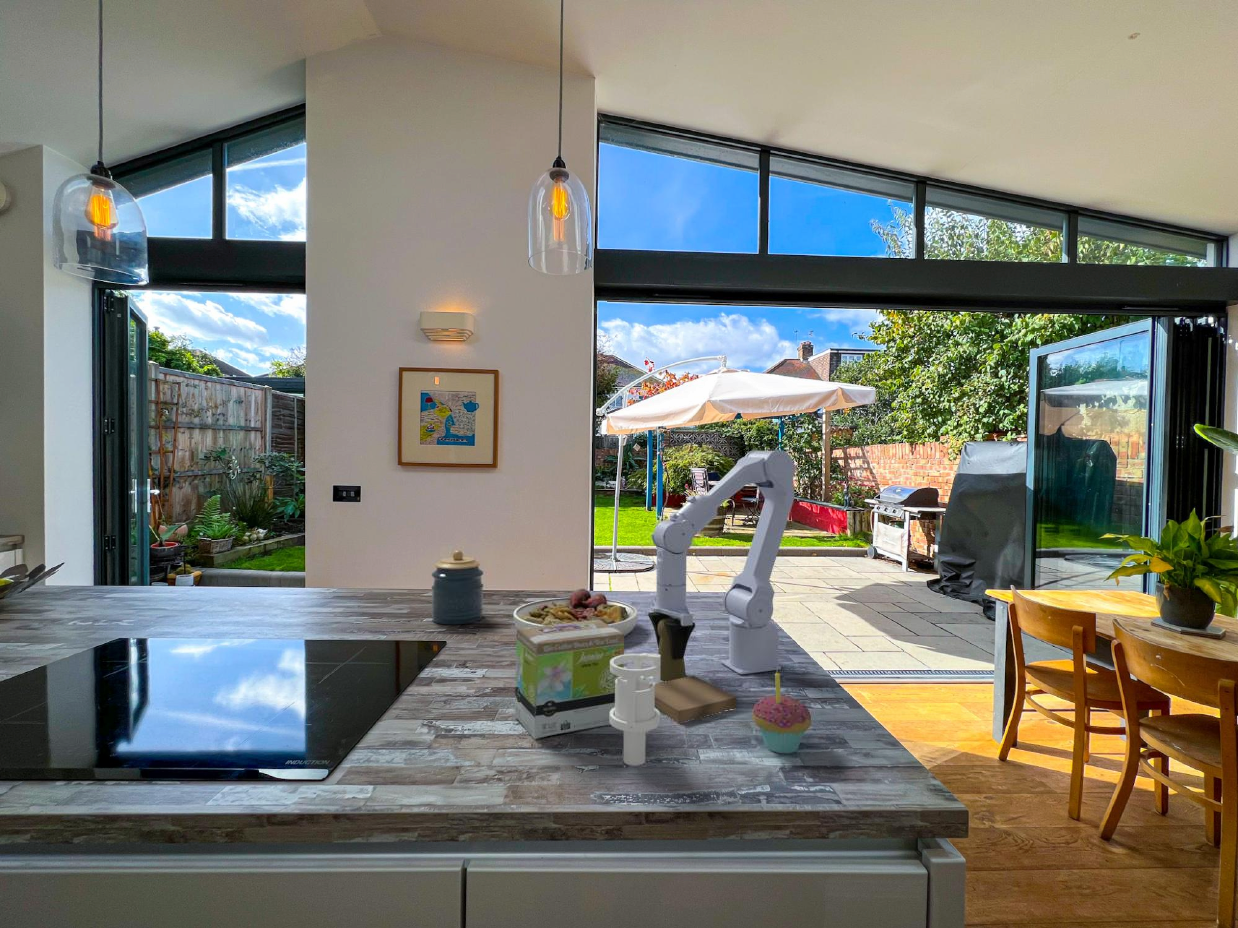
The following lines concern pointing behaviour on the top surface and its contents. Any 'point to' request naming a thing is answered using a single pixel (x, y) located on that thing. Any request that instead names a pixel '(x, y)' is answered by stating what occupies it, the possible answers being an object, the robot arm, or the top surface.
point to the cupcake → (781, 720)
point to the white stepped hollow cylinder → (635, 702)
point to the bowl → (577, 611)
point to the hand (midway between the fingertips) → (670, 653)
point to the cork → (668, 656)
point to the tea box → (565, 676)
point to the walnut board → (691, 699)
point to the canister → (457, 590)
